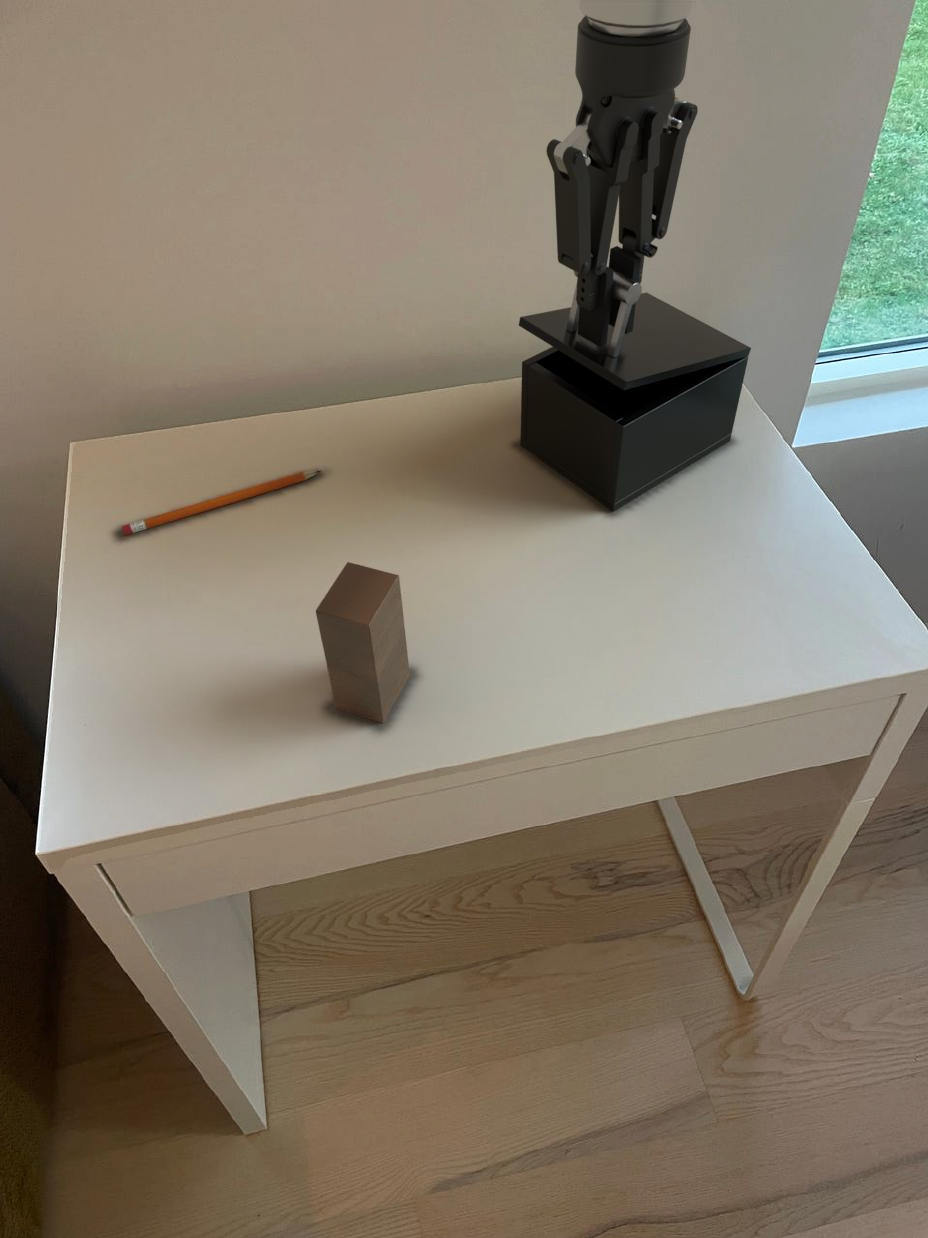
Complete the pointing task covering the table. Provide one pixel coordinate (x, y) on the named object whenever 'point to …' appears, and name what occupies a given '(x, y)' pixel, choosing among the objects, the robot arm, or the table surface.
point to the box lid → (637, 339)
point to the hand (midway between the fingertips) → (605, 331)
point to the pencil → (217, 502)
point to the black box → (624, 423)
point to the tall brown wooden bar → (364, 641)
